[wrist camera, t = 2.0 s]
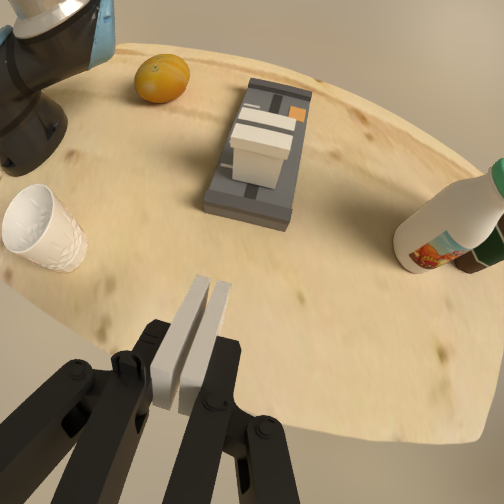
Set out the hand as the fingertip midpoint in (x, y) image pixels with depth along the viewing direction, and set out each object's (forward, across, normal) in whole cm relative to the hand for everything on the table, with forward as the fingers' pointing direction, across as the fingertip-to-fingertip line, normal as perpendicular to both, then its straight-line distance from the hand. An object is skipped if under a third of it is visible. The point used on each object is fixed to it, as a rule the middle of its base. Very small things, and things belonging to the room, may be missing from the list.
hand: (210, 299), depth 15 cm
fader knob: (+23, 0, +3) cm, 23 cm away
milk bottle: (+22, +24, -1) cm, 32 cm away
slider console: (+29, 0, +6) cm, 29 cm away
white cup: (+14, -22, -9) cm, 27 cm away
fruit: (+34, -18, +11) cm, 40 cm away
